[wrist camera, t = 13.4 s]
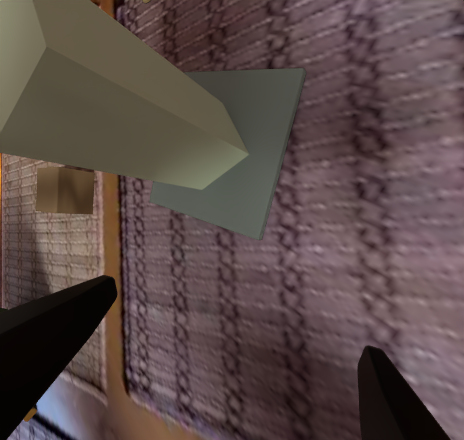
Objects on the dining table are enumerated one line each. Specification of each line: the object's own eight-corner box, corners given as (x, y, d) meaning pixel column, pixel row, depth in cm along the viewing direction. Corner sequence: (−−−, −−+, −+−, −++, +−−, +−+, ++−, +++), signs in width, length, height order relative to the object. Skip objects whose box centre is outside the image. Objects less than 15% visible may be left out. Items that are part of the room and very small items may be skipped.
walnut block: (93, 214, 30) (56, 213, 26) (72, 212, 32) (35, 210, 29) (95, 173, 30) (58, 166, 26) (73, 174, 32) (37, 168, 29)
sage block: (201, 189, 20) (-10, 150, 9) (180, 142, 22) (-28, 56, 10) (249, 154, 18) (46, 46, 7) (222, 103, 19) (14, -58, 8)
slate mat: (261, 239, 18) (258, 240, 18) (154, 202, 24) (149, 201, 24) (306, 72, 17) (304, 67, 16) (179, 75, 23) (174, 72, 22)
